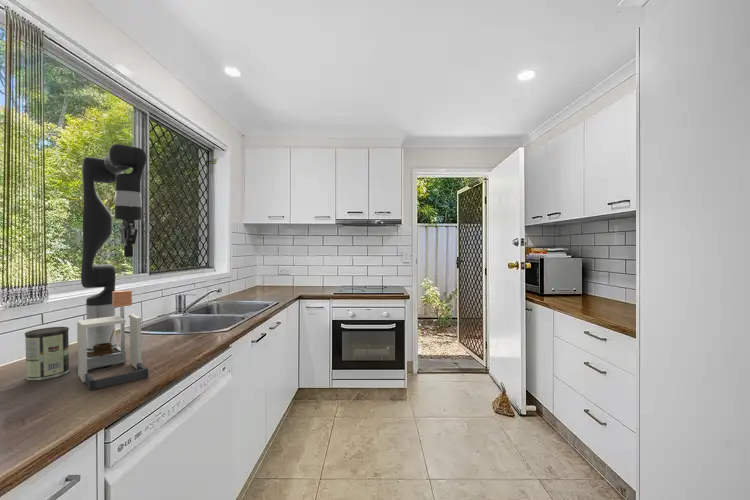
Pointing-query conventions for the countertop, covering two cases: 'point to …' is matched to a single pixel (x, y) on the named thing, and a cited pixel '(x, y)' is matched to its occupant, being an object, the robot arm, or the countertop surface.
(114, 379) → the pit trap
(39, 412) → the countertop surface
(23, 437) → the countertop surface
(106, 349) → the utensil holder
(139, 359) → the white and grey frame
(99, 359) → the slider
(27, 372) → the coffee can
